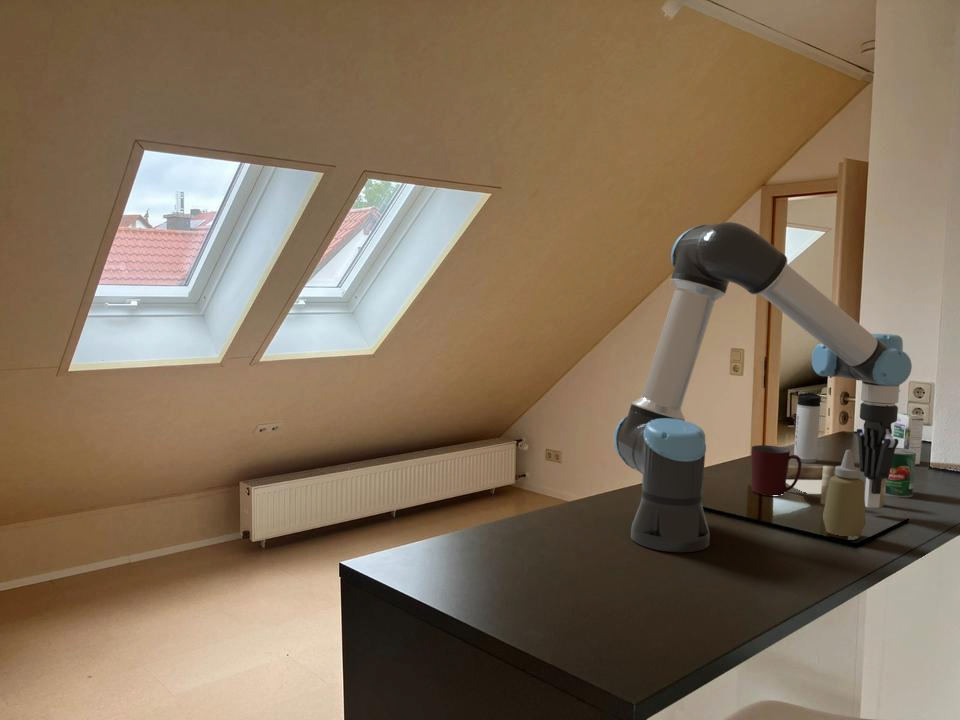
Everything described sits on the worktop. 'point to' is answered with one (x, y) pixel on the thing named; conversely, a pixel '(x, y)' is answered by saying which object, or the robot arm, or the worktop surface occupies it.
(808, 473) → the stopper strip
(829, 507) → the squeeze bottle
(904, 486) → the canned tomato
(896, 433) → the syrup box
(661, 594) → the worktop surface
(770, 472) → the mug
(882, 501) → the post
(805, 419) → the travel mug
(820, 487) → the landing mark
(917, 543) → the worktop surface
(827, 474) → the post
